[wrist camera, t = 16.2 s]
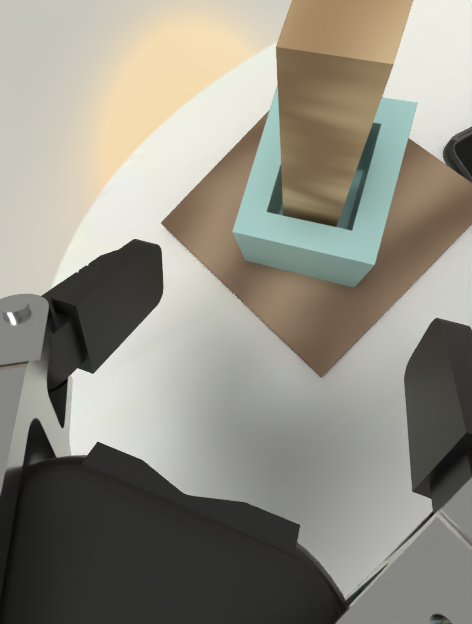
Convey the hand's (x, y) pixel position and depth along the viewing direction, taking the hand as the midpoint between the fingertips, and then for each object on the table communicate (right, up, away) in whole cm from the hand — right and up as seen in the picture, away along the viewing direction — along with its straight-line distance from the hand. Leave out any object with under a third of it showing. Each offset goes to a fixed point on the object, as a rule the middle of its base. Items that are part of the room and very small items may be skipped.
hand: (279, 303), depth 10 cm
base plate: (+4, +7, +14) cm, 16 cm away
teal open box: (+4, +7, +14) cm, 16 cm away
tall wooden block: (+4, +6, +12) cm, 15 cm away
